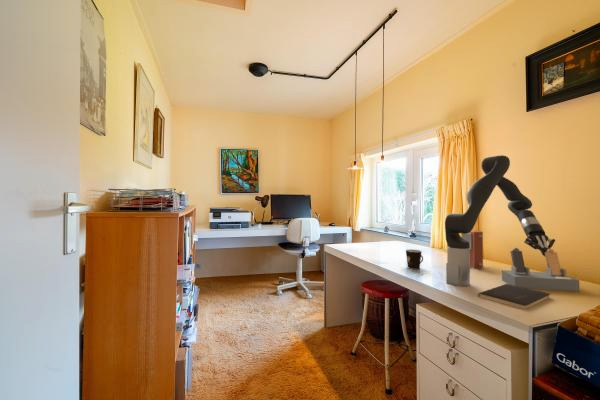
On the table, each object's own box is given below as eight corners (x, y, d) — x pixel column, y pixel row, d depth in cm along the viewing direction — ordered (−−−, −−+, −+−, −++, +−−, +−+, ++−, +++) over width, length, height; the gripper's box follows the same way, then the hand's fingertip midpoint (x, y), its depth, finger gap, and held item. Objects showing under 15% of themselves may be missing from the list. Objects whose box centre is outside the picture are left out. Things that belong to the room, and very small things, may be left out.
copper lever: (552, 273, 124) (546, 248, 128) (548, 274, 126) (543, 249, 130) (562, 274, 123) (556, 248, 127) (559, 274, 125) (553, 249, 129)
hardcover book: (550, 299, 110) (550, 293, 110) (525, 311, 98) (525, 305, 98) (504, 288, 124) (504, 283, 124) (478, 297, 112) (478, 292, 112)
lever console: (515, 287, 123) (514, 269, 123) (501, 280, 134) (501, 263, 134) (579, 291, 117) (579, 272, 117) (560, 283, 129) (559, 266, 129)
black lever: (516, 272, 127) (511, 247, 131) (513, 272, 129) (509, 248, 133) (526, 272, 126) (521, 247, 130) (523, 273, 128) (518, 248, 132)
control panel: (470, 263, 171) (485, 269, 156) (458, 263, 171) (473, 269, 156) (469, 229, 171) (485, 231, 156) (458, 229, 171) (473, 231, 156)
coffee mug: (404, 265, 166) (404, 249, 166) (419, 266, 164) (419, 249, 164) (408, 270, 154) (408, 252, 154) (424, 271, 152) (424, 253, 152)
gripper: (520, 222, 141) (534, 250, 129) (550, 223, 138) (568, 251, 126) (514, 232, 146) (528, 259, 134) (543, 232, 143) (560, 261, 131)
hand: (547, 255), depth 130 cm, fingers closed
